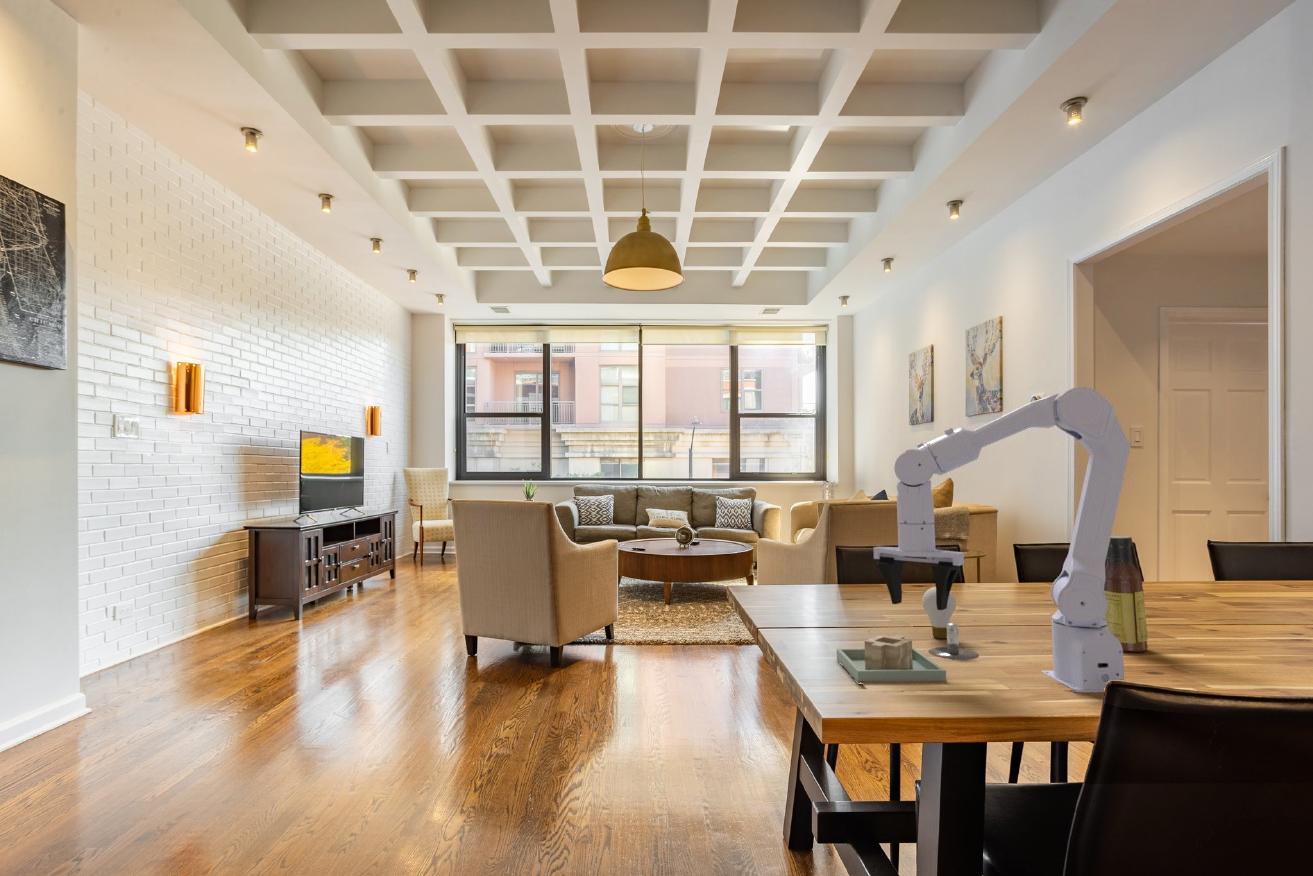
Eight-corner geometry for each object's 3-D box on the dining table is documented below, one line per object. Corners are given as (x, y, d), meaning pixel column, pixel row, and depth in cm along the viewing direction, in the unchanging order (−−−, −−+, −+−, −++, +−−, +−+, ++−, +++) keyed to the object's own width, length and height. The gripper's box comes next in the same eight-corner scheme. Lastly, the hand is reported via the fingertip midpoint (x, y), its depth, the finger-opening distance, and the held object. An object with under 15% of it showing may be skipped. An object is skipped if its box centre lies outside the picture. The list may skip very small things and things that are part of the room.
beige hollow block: (893, 677, 106) (892, 648, 106) (860, 670, 109) (860, 642, 110) (916, 666, 112) (915, 638, 112) (884, 660, 115) (884, 633, 116)
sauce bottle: (1135, 644, 125) (1130, 534, 126) (1156, 653, 119) (1151, 537, 120) (1096, 644, 126) (1092, 534, 127) (1116, 653, 120) (1111, 538, 121)
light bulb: (952, 646, 126) (950, 590, 127) (919, 641, 130) (917, 587, 130) (960, 639, 131) (958, 586, 131) (928, 635, 134) (926, 583, 135)
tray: (946, 684, 104) (946, 670, 104) (858, 684, 104) (857, 671, 104) (915, 660, 117) (914, 648, 117) (836, 660, 117) (836, 648, 117)
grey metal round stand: (987, 662, 115) (986, 628, 115) (939, 662, 115) (938, 629, 116) (966, 649, 123) (965, 618, 123) (921, 650, 123) (920, 619, 124)
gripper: (970, 523, 112) (973, 608, 111) (886, 520, 122) (888, 597, 122) (952, 526, 107) (955, 614, 106) (866, 522, 117) (869, 603, 117)
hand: (918, 606), depth 114 cm, fingers open, 7 cm apart
